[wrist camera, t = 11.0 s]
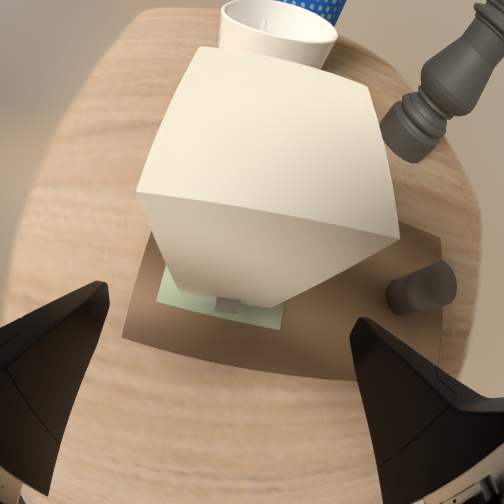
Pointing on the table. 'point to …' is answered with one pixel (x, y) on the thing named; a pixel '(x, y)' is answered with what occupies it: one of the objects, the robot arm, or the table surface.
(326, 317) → the board
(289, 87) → the tall white prism
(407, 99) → the candle holder
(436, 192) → the table surface
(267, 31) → the white cup
